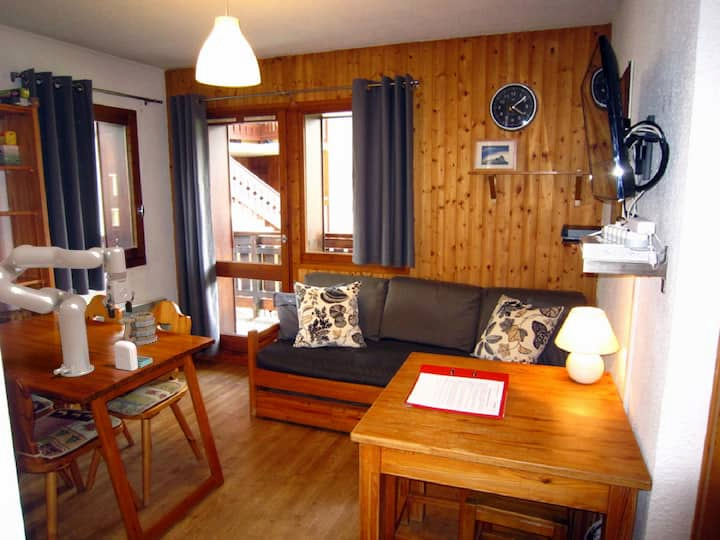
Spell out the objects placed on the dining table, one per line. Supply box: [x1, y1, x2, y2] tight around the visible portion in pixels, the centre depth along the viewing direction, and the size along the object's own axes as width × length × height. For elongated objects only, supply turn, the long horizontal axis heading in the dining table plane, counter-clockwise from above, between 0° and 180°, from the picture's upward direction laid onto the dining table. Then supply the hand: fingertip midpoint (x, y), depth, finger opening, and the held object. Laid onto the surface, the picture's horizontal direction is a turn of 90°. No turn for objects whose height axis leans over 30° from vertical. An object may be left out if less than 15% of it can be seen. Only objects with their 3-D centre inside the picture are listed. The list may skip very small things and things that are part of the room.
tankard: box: [117, 311, 159, 346], centre depth 255 cm, size 20×13×15 cm, turn 152°
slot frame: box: [137, 355, 153, 369], centre depth 228 cm, size 7×13×2 cm, turn 70°
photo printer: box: [113, 340, 139, 372], centre depth 220 cm, size 10×4×12 cm, turn 66°
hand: (120, 315), depth 221 cm, fingers open, 9 cm apart
